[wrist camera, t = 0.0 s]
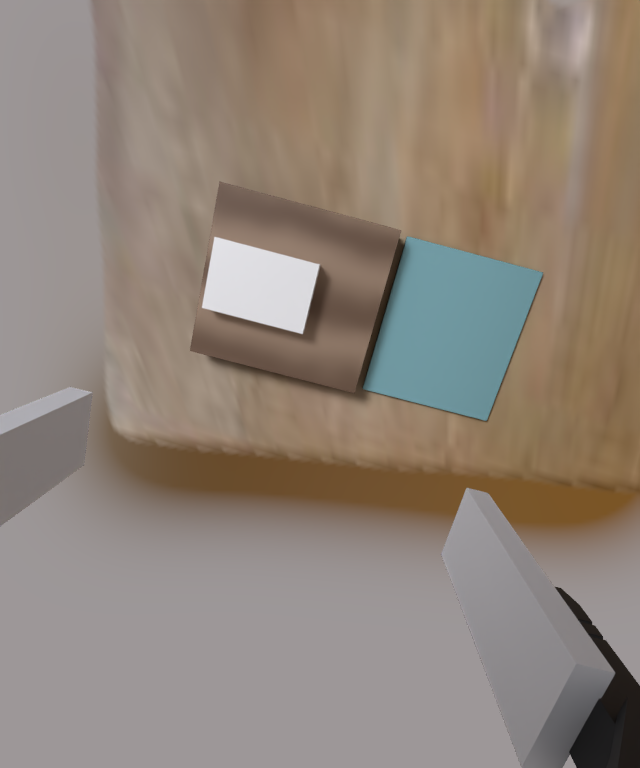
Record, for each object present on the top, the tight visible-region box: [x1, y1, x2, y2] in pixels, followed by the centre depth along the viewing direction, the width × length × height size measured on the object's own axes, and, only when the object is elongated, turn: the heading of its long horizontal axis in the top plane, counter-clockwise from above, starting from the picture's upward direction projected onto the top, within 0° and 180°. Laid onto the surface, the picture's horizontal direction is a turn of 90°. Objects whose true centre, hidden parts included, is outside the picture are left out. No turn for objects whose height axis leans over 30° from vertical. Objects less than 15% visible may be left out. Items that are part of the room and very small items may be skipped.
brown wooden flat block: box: [190, 182, 401, 393], centre depth 38 cm, size 15×16×3 cm
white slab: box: [202, 237, 321, 334], centre depth 36 cm, size 6×9×2 cm, turn 76°
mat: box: [363, 236, 543, 421], centre depth 40 cm, size 15×13×1 cm
